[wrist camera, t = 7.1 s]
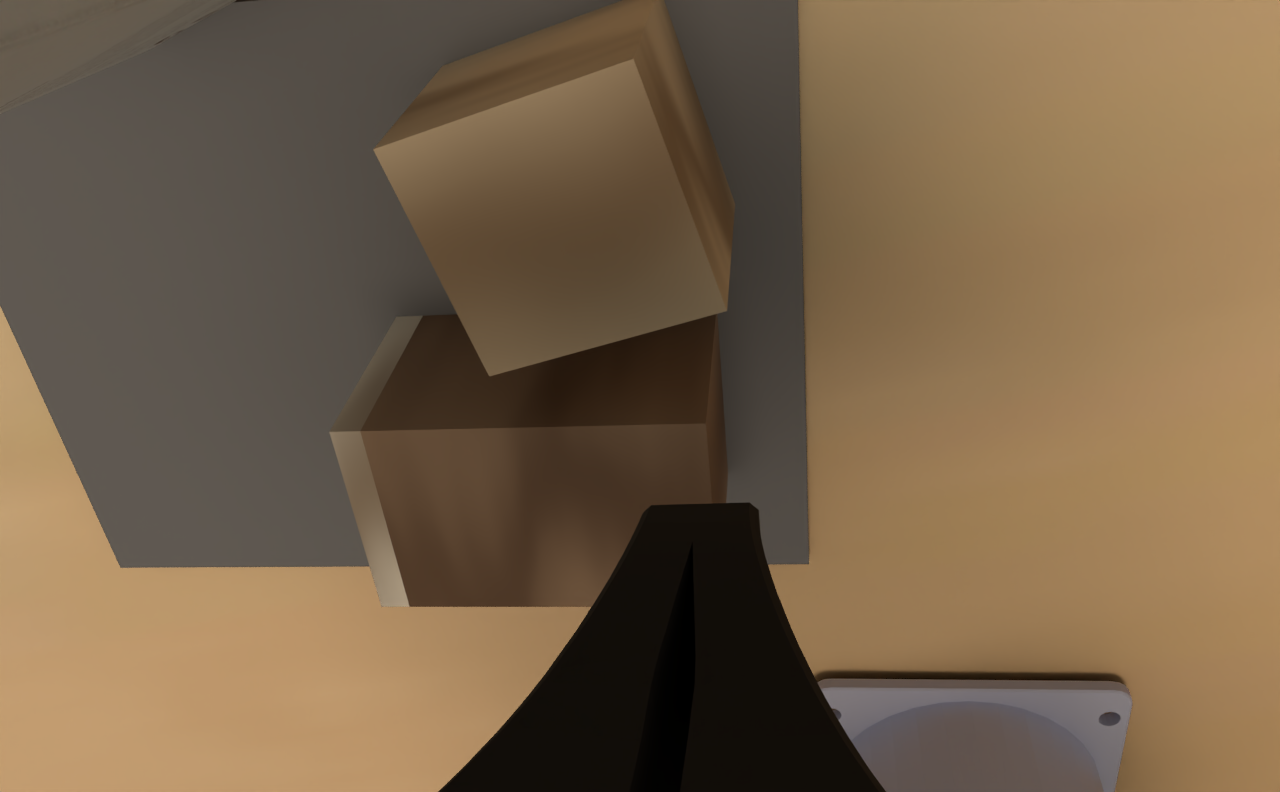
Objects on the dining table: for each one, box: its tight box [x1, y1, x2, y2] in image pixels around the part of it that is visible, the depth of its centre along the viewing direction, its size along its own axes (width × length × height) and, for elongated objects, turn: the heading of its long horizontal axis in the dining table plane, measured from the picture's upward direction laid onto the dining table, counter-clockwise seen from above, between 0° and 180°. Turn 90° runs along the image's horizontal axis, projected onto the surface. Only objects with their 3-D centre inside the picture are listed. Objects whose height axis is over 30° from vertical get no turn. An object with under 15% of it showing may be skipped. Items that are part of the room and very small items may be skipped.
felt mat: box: [0, 0, 809, 568], centre depth 25 cm, size 14×18×1 cm
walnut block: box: [329, 314, 728, 607], centre depth 23 cm, size 4×4×7 cm
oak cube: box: [373, 0, 735, 376], centre depth 20 cm, size 4×4×4 cm
